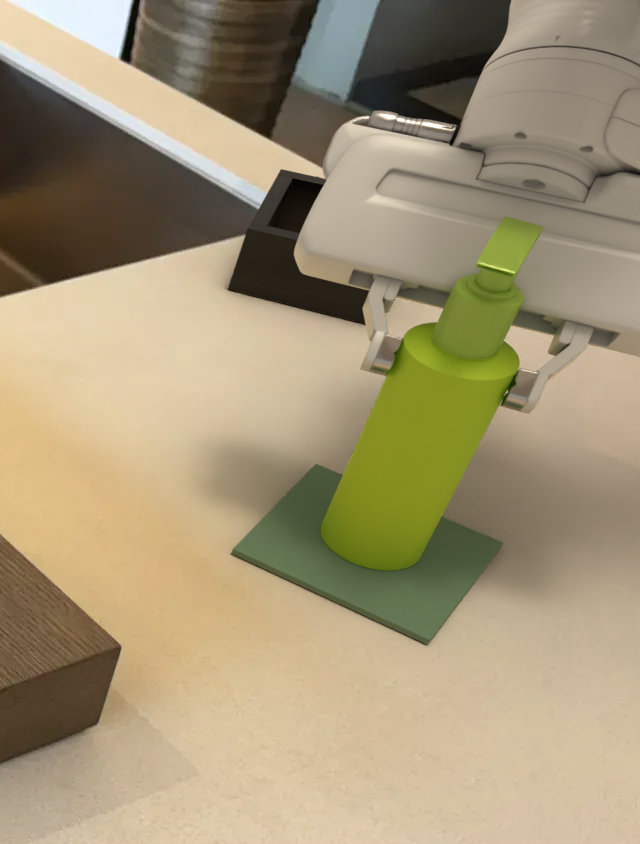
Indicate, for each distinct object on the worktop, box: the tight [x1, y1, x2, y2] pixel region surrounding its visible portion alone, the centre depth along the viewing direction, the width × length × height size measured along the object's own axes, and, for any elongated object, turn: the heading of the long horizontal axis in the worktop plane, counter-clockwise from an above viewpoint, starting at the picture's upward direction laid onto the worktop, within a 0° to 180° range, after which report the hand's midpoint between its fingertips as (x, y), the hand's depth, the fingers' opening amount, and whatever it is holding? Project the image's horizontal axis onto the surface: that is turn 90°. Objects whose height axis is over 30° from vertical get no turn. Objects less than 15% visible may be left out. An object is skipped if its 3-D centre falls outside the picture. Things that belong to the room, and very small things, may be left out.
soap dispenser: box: [320, 216, 543, 571], centre depth 75 cm, size 6×7×20 cm
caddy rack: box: [227, 168, 369, 325], centre depth 105 cm, size 12×11×5 cm
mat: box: [231, 463, 504, 645], centre depth 83 cm, size 12×12×1 cm
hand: (444, 388), depth 74 cm, fingers closed on soap dispenser, 6 cm apart
